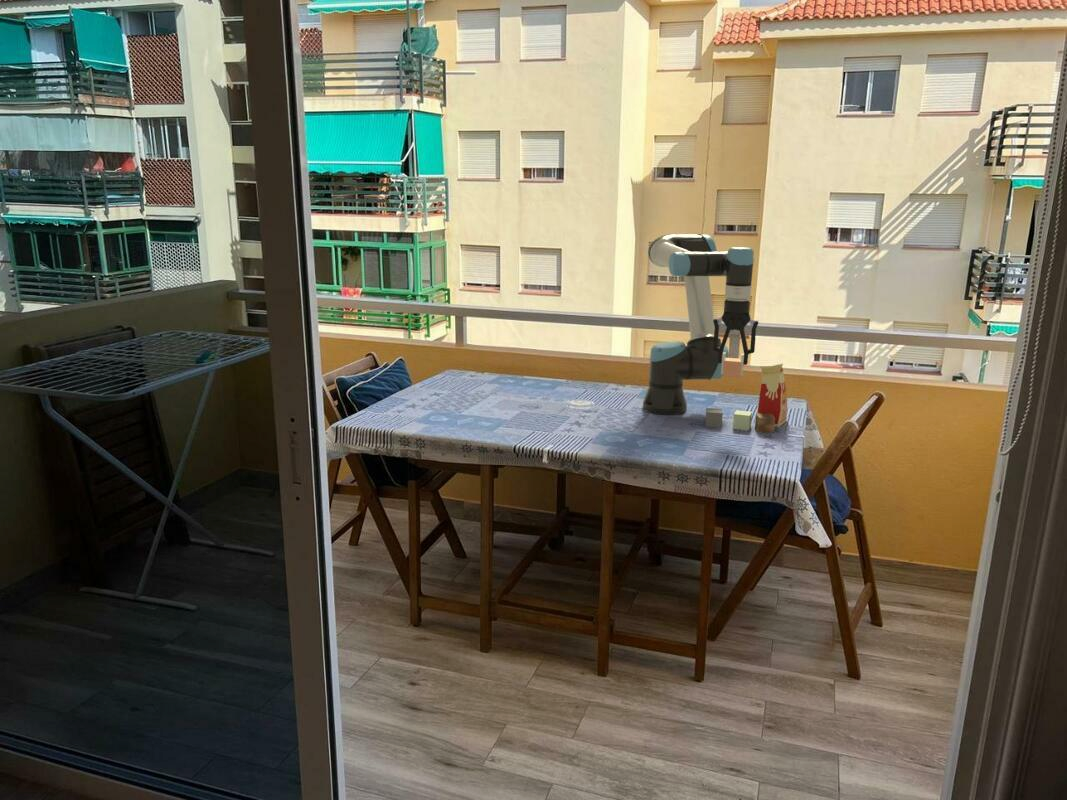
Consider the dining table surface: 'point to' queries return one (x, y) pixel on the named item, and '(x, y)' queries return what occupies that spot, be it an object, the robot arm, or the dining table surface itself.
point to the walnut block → (765, 423)
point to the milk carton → (773, 393)
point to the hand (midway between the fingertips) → (731, 373)
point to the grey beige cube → (713, 417)
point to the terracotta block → (732, 367)
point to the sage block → (742, 420)
